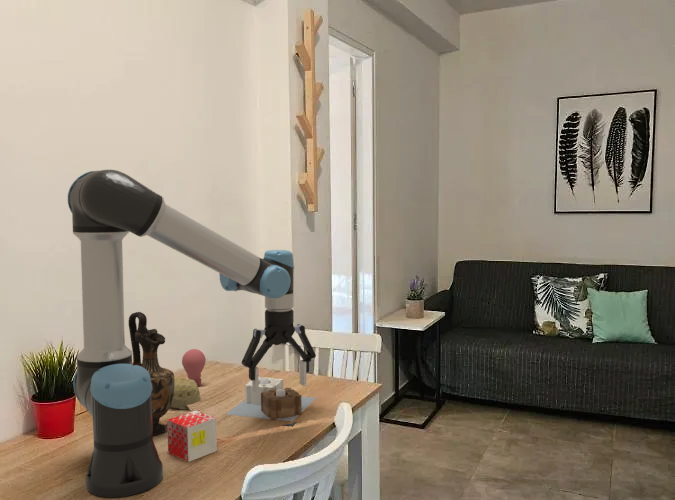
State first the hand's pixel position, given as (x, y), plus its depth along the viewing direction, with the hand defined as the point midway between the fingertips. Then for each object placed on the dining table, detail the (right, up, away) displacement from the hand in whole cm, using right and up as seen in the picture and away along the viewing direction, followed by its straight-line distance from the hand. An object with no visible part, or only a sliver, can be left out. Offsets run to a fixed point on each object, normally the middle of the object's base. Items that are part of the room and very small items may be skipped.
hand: (279, 388), depth 165 cm
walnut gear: (0, -7, +1) cm, 7 cm away
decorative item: (-28, -8, +12) cm, 32 cm away
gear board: (-2, -8, +6) cm, 10 cm away
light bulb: (-29, -6, +28) cm, 40 cm away
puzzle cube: (-18, -10, -20) cm, 29 cm away
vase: (-32, -9, -7) cm, 34 cm away
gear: (-5, -6, +11) cm, 14 cm away
